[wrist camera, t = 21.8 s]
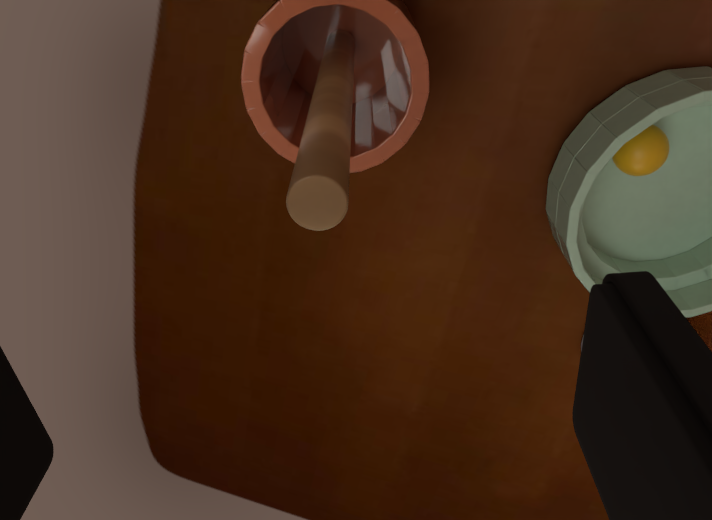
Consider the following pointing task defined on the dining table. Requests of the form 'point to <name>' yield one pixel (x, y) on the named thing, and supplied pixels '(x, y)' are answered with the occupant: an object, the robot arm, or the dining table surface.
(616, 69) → the dining table surface
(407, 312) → the dining table surface
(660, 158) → the ball
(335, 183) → the stirring stick
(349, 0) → the utensil pot
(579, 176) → the bowl
